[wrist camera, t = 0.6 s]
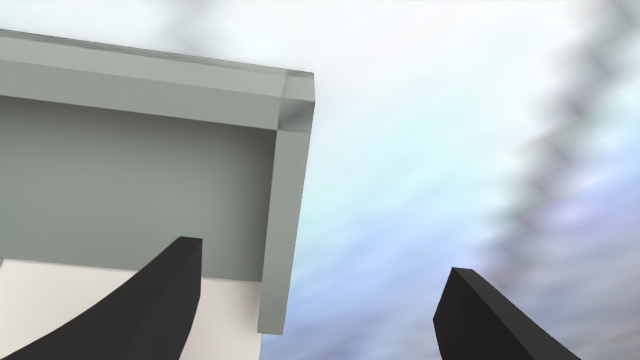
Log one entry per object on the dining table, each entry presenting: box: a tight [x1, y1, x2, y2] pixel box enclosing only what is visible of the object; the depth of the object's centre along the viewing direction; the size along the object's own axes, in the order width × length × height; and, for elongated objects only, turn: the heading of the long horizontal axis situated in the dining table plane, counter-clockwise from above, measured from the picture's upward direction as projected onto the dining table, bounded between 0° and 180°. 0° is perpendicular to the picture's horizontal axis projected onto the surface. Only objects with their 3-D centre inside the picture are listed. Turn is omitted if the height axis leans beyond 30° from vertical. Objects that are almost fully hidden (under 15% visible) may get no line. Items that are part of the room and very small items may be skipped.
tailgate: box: [0, 258, 262, 360], centre depth 21 cm, size 8×14×1 cm
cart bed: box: [0, 29, 315, 335], centre depth 18 cm, size 11×16×5 cm
